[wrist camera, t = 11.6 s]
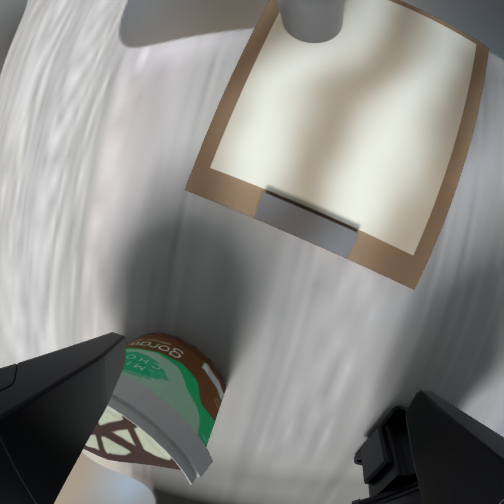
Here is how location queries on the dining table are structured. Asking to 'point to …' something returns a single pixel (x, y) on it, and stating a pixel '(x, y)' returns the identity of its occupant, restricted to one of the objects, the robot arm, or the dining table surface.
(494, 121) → the dining table surface
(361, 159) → the clipboard
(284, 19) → the marker
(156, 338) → the food container
